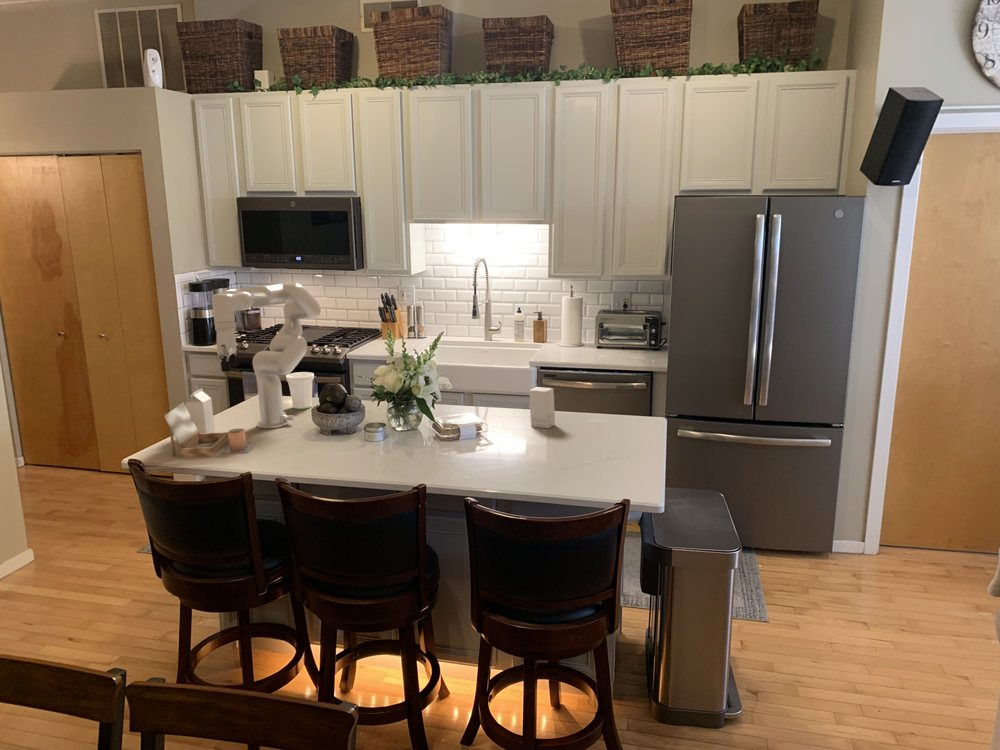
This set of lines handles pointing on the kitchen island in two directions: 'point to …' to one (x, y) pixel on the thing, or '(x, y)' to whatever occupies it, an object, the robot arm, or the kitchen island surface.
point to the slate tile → (247, 450)
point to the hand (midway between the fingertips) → (229, 368)
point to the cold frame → (192, 435)
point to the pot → (237, 439)
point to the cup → (301, 389)
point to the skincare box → (542, 407)
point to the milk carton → (201, 411)
